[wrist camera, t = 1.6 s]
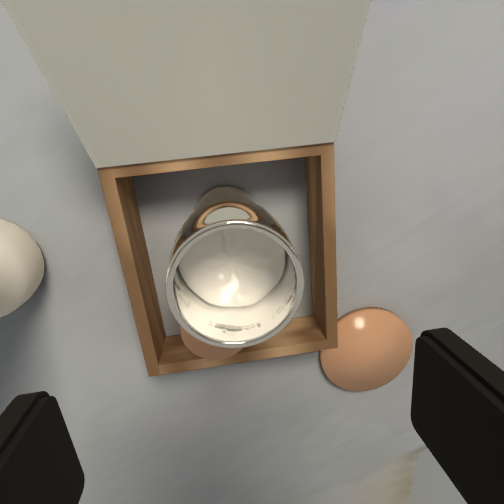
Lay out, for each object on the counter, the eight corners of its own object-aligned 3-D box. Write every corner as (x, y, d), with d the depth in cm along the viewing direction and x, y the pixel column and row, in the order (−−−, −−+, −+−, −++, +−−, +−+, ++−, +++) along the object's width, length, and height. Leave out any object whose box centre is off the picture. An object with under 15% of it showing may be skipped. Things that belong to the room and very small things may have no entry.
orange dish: (410, 301, 34) (415, 304, 33) (405, 379, 37) (409, 383, 37) (317, 314, 33) (320, 318, 33) (320, 392, 37) (323, 397, 36)
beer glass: (220, 270, 31) (224, 376, 17) (171, 213, 29) (127, 279, 15) (279, 226, 30) (336, 297, 16) (233, 164, 28) (251, 183, 14)
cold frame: (316, 140, 28) (333, 139, 24) (322, 322, 34) (337, 347, 30) (115, 162, 27) (96, 165, 23) (157, 346, 33) (148, 376, 28)
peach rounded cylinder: (241, 266, 31) (246, 293, 25) (247, 318, 33) (254, 354, 27) (182, 274, 31) (174, 303, 25) (191, 326, 32) (186, 364, 27)
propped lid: (308, -63, 24) (482, -456, 8) (316, 142, 28) (437, 138, 13) (67, -47, 22) (-258, -467, 7) (116, 164, 27) (-18, 189, 12)
